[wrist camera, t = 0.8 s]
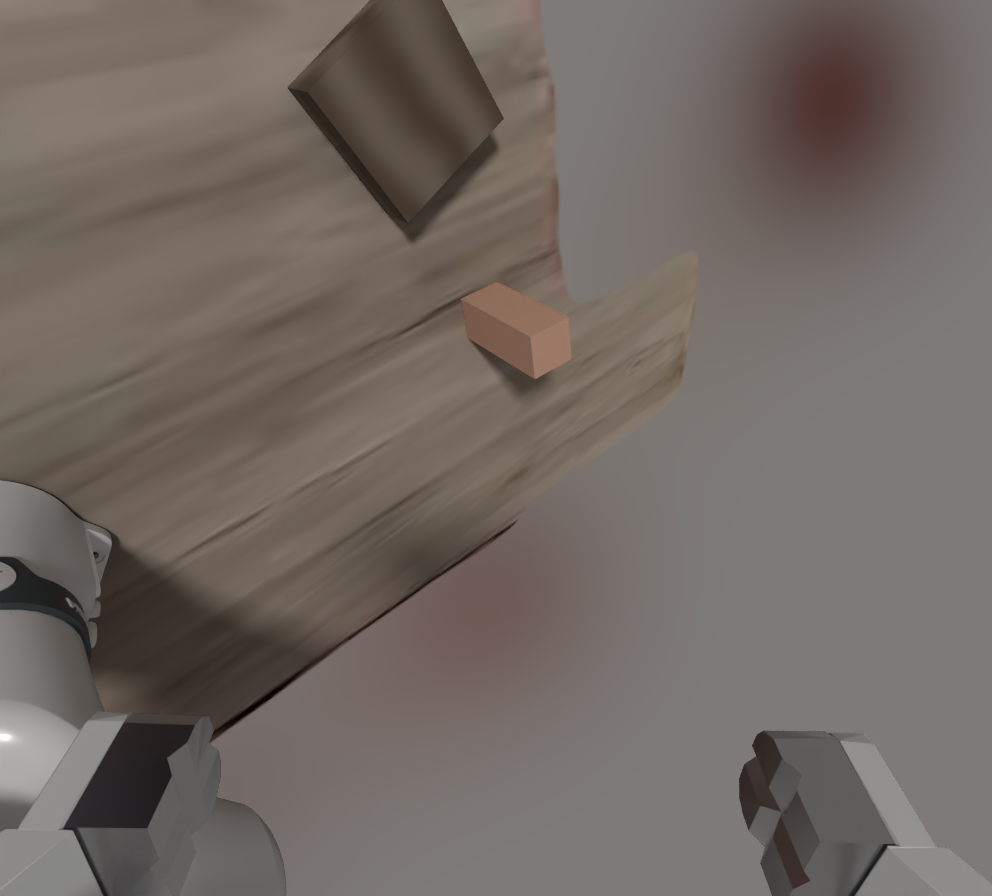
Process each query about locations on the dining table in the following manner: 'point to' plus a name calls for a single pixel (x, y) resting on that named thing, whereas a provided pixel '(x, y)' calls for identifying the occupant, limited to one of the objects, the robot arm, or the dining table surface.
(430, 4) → the walnut plinth
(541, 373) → the terracotta block
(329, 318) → the dining table surface
